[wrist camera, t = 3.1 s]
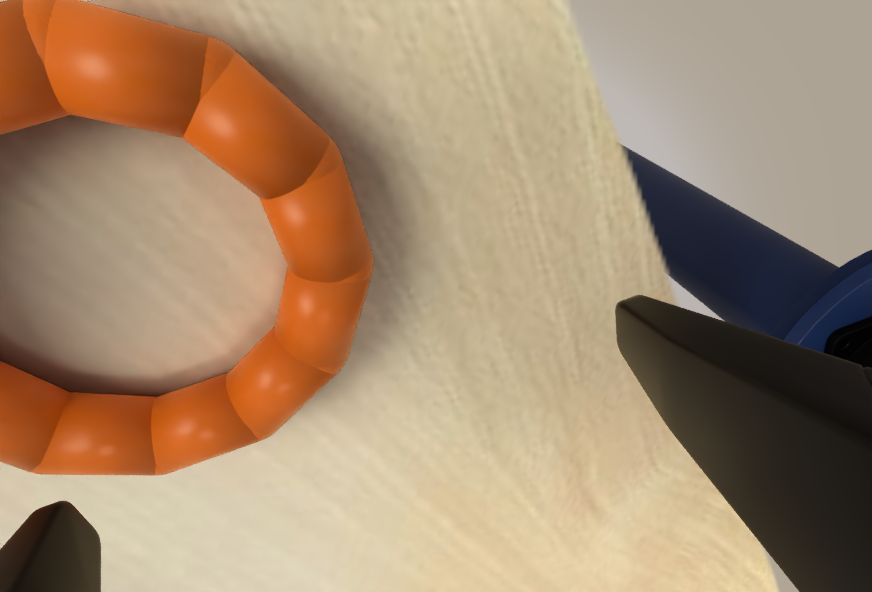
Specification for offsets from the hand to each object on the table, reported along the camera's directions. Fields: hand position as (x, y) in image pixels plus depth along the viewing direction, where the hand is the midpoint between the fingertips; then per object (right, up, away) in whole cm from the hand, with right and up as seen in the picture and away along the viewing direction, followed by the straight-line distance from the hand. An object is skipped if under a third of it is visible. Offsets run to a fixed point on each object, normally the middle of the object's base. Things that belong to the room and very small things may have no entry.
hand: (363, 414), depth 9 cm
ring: (-7, +2, +5) cm, 9 cm away
